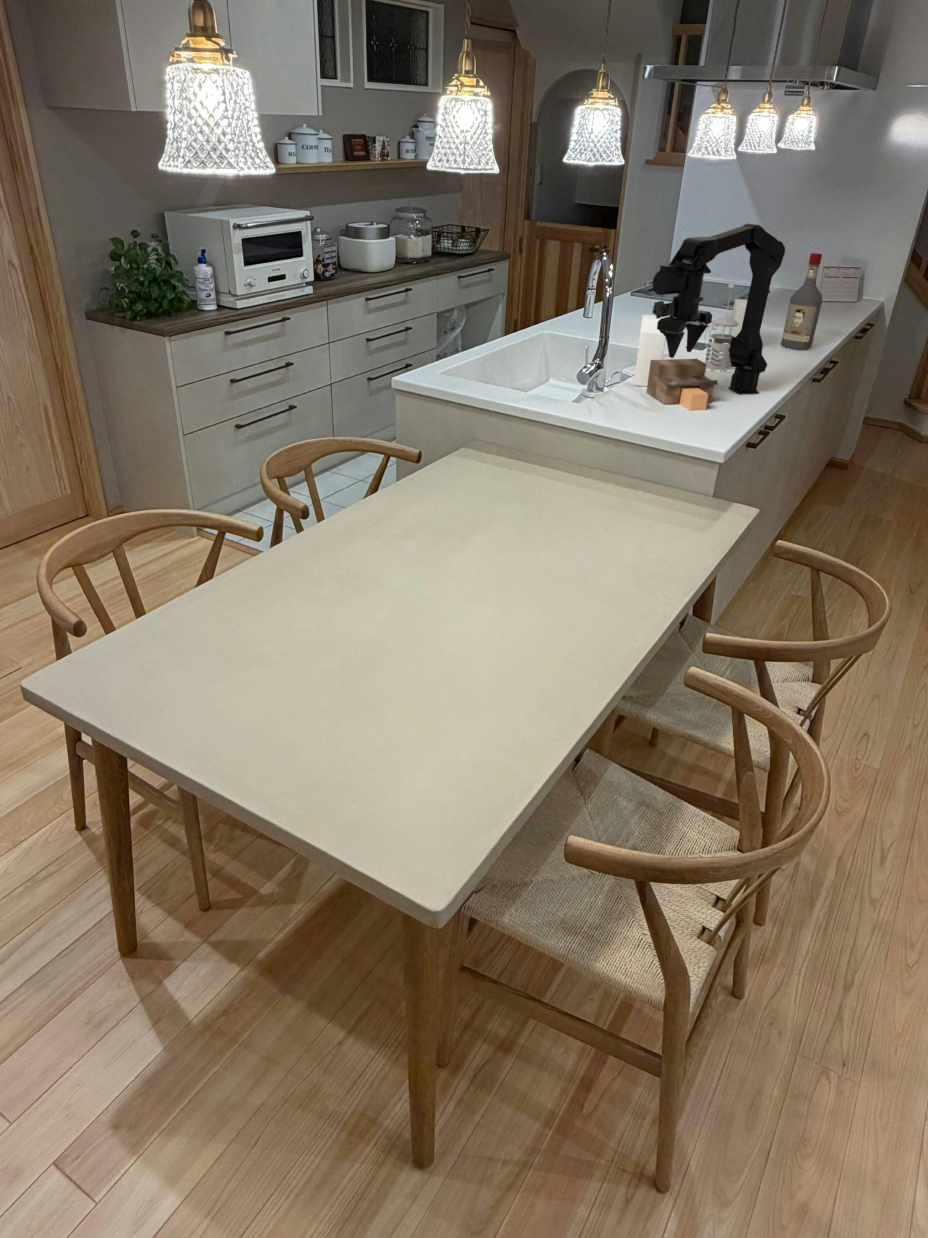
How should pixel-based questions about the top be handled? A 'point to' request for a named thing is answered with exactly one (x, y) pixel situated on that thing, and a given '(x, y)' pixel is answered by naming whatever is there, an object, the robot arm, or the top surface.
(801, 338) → the liquor
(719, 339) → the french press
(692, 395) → the orange rectangular block
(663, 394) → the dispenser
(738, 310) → the supplement box
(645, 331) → the milk carton
